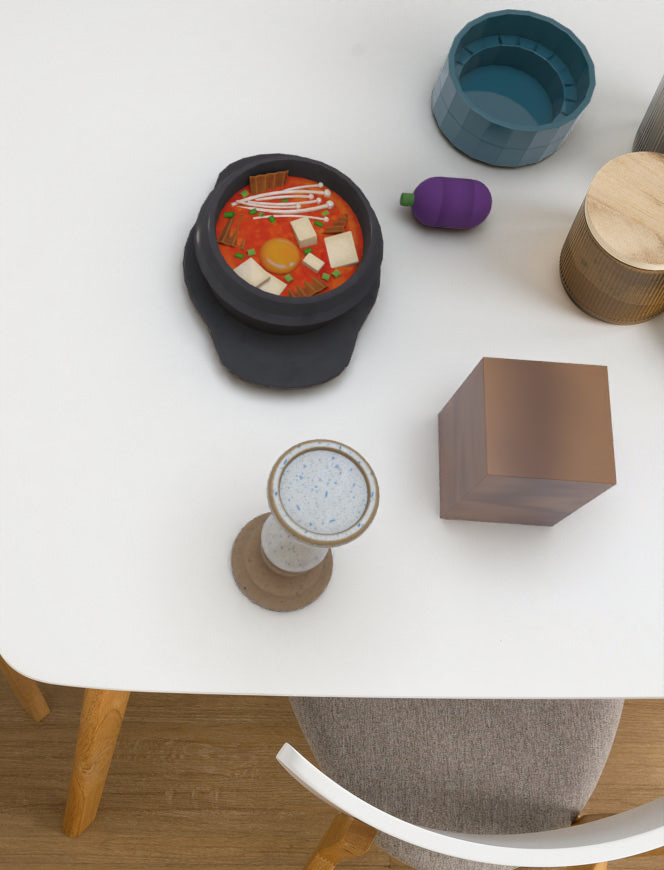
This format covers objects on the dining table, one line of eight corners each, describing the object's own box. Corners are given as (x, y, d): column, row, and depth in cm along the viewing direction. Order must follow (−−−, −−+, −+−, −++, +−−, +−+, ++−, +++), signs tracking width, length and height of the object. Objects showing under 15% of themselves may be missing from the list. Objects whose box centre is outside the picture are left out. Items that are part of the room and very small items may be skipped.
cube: (546, 421, 89) (607, 365, 77) (552, 526, 86) (617, 484, 74) (437, 414, 88) (483, 356, 77) (440, 518, 85) (487, 474, 74)
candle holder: (234, 614, 82) (264, 556, 63) (226, 516, 85) (254, 431, 66) (336, 609, 83) (397, 550, 63) (325, 511, 85) (381, 426, 66)
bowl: (564, 59, 101) (590, 15, 95) (572, 175, 97) (600, 136, 91) (429, 49, 101) (447, 4, 95) (431, 164, 96) (450, 124, 91)
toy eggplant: (481, 199, 95) (498, 170, 91) (483, 240, 94) (500, 212, 90) (395, 193, 95) (407, 163, 91) (395, 233, 94) (408, 205, 90)
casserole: (182, 163, 96) (186, 104, 88) (368, 168, 96) (389, 110, 88) (181, 395, 88) (185, 354, 80) (383, 399, 89) (408, 359, 81)
